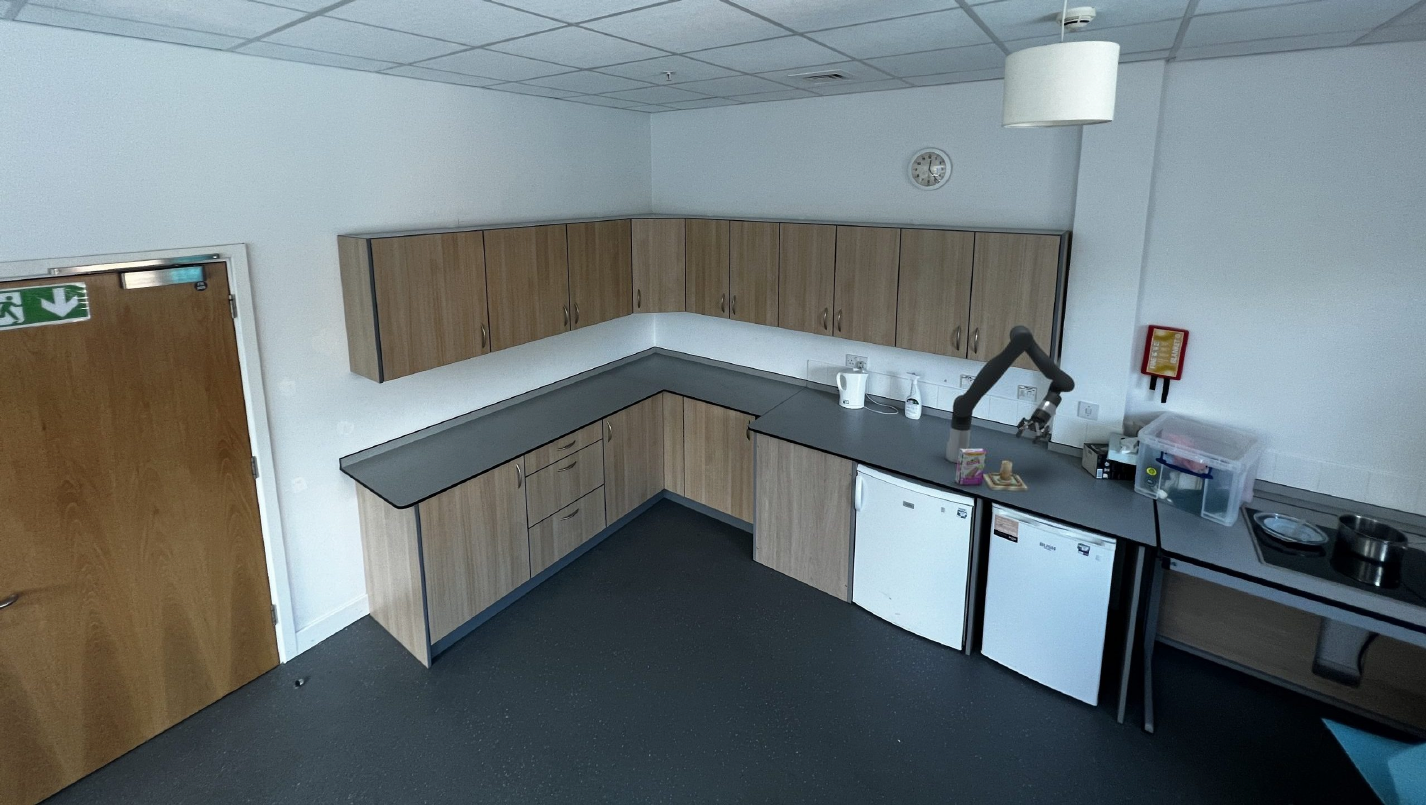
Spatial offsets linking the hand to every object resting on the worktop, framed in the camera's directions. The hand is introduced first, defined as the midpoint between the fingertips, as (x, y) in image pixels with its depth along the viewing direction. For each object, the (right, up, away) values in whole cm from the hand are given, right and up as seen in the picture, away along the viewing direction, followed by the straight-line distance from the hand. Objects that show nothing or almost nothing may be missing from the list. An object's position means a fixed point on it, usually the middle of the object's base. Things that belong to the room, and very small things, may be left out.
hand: (1025, 440), depth 328 cm
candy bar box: (-25, -20, +2) cm, 32 cm away
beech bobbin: (-9, -18, 0) cm, 21 cm away
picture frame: (-9, -20, +1) cm, 22 cm away
